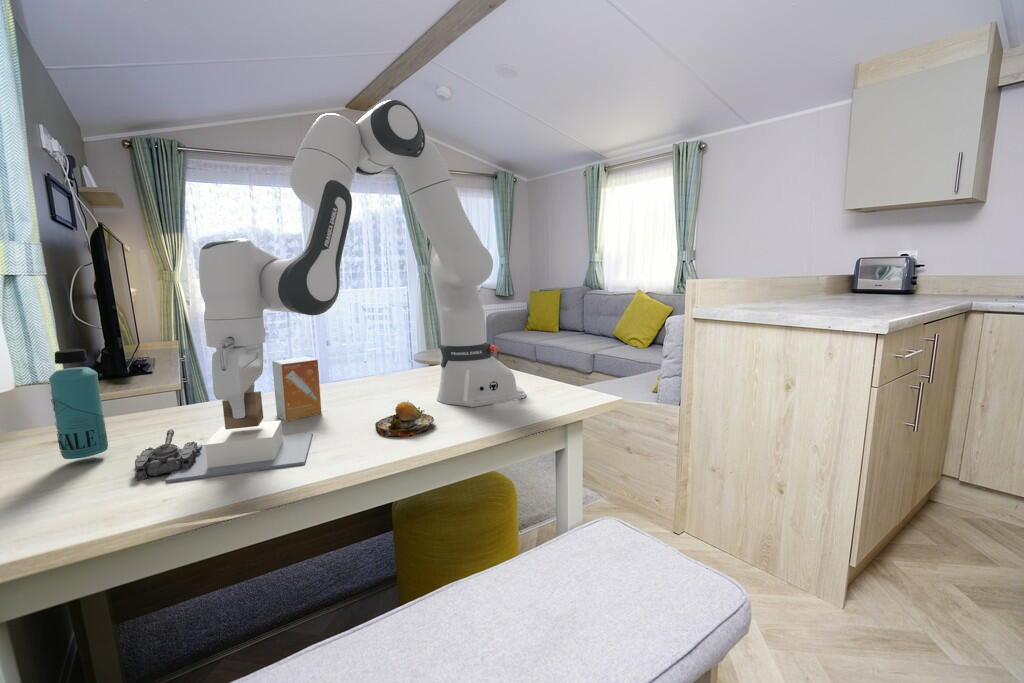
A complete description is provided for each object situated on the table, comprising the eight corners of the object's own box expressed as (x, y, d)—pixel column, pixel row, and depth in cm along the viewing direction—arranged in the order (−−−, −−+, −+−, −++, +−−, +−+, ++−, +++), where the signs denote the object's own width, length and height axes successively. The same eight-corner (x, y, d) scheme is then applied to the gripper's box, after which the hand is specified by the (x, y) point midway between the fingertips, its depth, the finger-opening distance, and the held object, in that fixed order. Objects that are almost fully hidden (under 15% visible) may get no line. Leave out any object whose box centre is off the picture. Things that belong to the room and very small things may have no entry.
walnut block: (263, 417, 86) (260, 391, 86) (258, 426, 82) (255, 398, 81) (232, 421, 85) (229, 394, 84) (225, 429, 80) (222, 401, 79)
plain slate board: (312, 434, 95) (312, 432, 95) (304, 464, 80) (304, 461, 80) (197, 448, 89) (197, 445, 88) (165, 482, 73) (165, 479, 73)
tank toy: (142, 461, 84) (138, 433, 83) (205, 450, 88) (202, 424, 88) (127, 487, 74) (122, 455, 73) (199, 473, 78) (195, 443, 77)
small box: (286, 422, 103) (280, 364, 102) (276, 416, 108) (271, 360, 106) (322, 414, 109) (318, 358, 107) (312, 409, 114) (307, 355, 112)
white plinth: (283, 440, 90) (281, 420, 90) (274, 459, 81) (272, 437, 80) (223, 447, 87) (221, 426, 87) (207, 467, 78) (205, 444, 77)
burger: (433, 418, 105) (431, 385, 104) (436, 435, 94) (434, 399, 93) (377, 423, 102) (375, 389, 101) (373, 441, 91) (371, 404, 90)
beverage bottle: (102, 451, 88) (86, 345, 85) (117, 457, 84) (101, 347, 82) (55, 463, 82) (36, 350, 79) (70, 471, 79) (51, 353, 76)
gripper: (243, 340, 72) (252, 427, 74) (266, 327, 91) (273, 396, 93) (195, 343, 70) (206, 432, 72) (229, 329, 90) (237, 399, 91)
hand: (244, 412), depth 83 cm, fingers closed on walnut block, 5 cm apart
